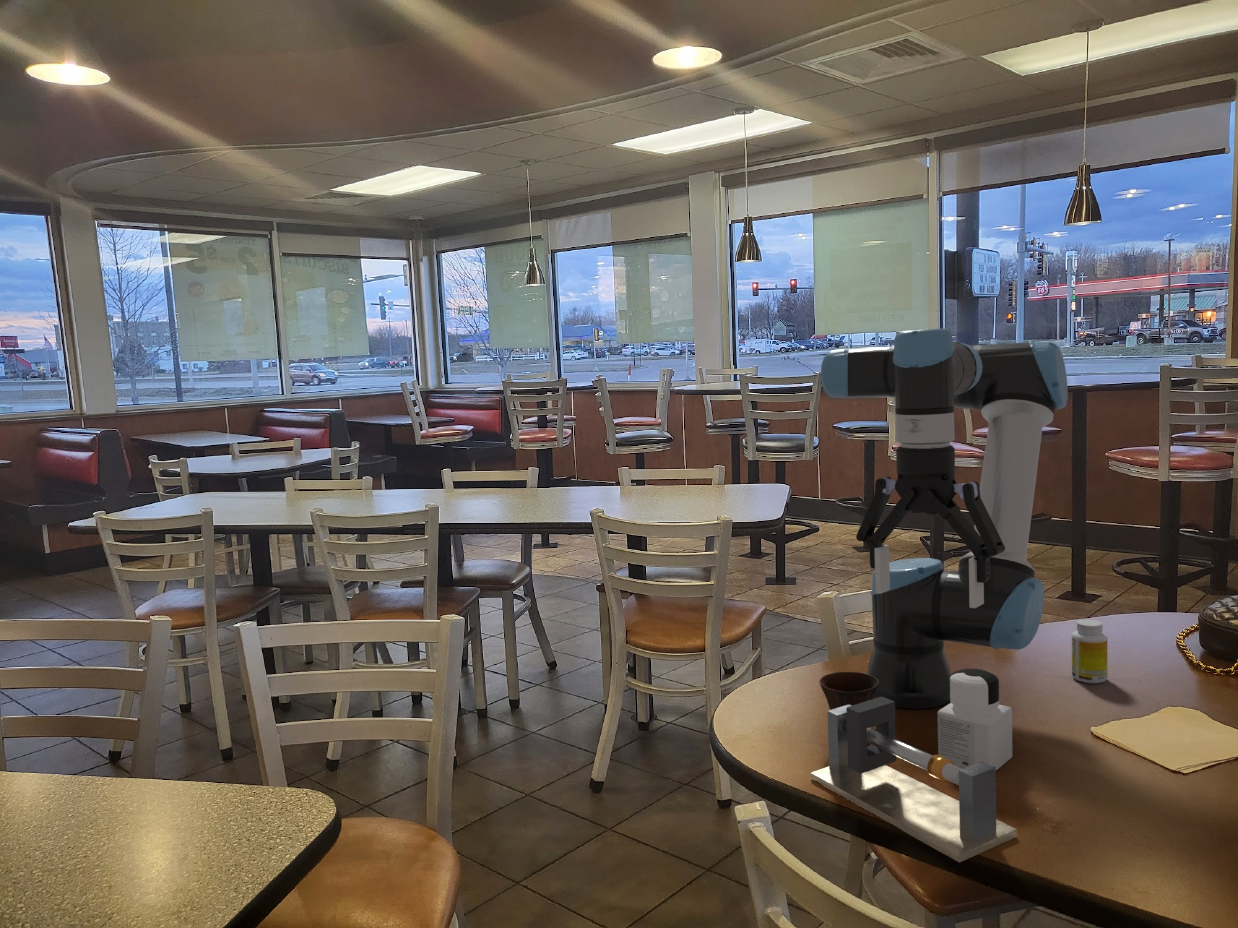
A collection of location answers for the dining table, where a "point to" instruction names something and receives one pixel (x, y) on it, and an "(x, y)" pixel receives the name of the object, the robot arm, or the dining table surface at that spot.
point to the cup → (848, 688)
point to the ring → (858, 721)
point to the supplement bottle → (1089, 652)
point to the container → (975, 721)
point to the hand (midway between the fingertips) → (928, 598)
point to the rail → (919, 794)
